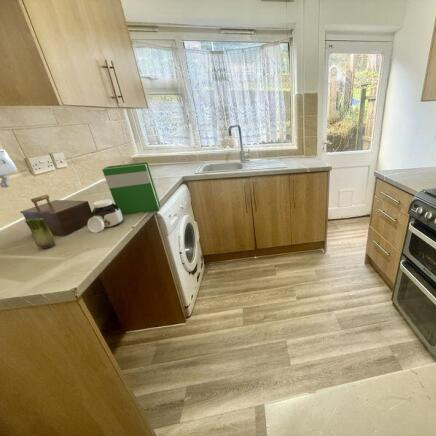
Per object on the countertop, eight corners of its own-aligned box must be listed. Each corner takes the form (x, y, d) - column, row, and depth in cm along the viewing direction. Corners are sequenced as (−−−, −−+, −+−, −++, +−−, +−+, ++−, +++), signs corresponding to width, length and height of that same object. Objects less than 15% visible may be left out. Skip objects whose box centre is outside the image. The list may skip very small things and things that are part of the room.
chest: (33, 234, 106) (22, 213, 102) (65, 220, 119) (57, 201, 115) (66, 236, 103) (56, 214, 99) (95, 221, 117) (88, 202, 113)
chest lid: (20, 213, 102) (15, 202, 100) (56, 201, 115) (51, 191, 113) (56, 214, 99) (51, 203, 97) (88, 202, 113) (84, 192, 111)
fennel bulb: (60, 244, 97) (45, 216, 92) (46, 250, 92) (30, 222, 87) (49, 242, 98) (35, 215, 93) (35, 249, 94) (19, 221, 89)
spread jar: (126, 220, 117) (117, 197, 112) (120, 230, 107) (110, 205, 102) (96, 225, 113) (86, 201, 108) (87, 235, 103) (76, 210, 99)
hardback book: (160, 206, 133) (147, 162, 123) (159, 210, 126) (145, 164, 116) (123, 212, 127) (106, 166, 117) (120, 217, 121) (102, 169, 111)
